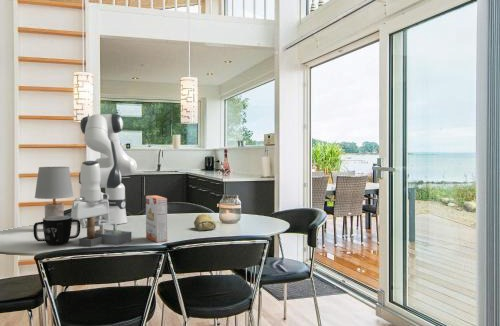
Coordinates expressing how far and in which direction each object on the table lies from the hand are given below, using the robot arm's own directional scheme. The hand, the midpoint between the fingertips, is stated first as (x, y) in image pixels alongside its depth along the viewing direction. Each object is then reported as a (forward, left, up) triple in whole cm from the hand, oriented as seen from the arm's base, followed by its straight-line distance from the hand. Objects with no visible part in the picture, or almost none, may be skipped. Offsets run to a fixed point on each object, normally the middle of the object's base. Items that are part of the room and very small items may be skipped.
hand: (90, 226), depth 195 cm
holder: (0, 0, -8) cm, 8 cm away
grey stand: (+2, +10, -8) cm, 13 cm away
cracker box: (+21, +21, -8) cm, 31 cm away
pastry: (+28, +56, -8) cm, 63 cm away
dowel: (0, 0, -8) cm, 8 cm away
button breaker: (-3, +10, -8) cm, 13 cm away
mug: (-15, -5, -8) cm, 18 cm away
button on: (+7, +10, -8) cm, 14 cm away
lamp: (-44, +20, -8) cm, 49 cm away
